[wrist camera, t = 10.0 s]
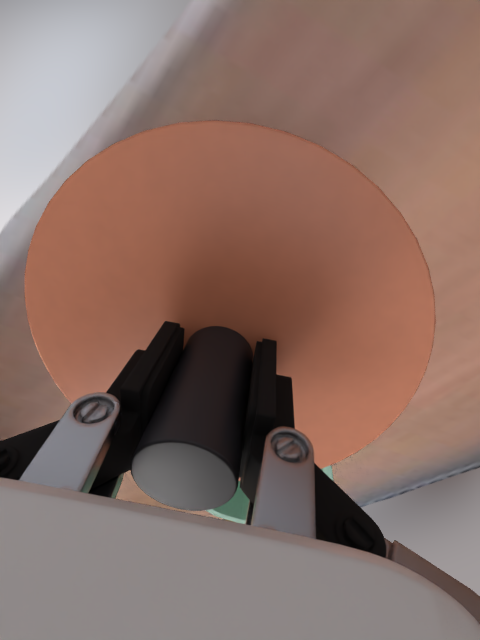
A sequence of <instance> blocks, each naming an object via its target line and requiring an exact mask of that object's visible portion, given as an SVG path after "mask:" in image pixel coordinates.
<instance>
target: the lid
mask: <svg viewBox="0 0 480 640" xmlns="http://www.w3.org/2000/svg"><path fill="white" fill-rule="evenodd" d="M25 303H26V310H27V316H28V322H29V325H30V329H31V332H32V336H33V339H34V342H35V344H36V347H37V349H38V351H39V354H40V356H41V358H42V361H43V363H44V364H45V366H46V368H47V370H48V371H49V373H50V375H51V377H52V378H53V380H54V381H55V383H56V384H57V386H58V387H59V388H60V390H61V391H62V392H63V394H64V395H65V397H66V398H67V399H68V400H69V401H70V402H71V403H73V402H74V401H75V400H77V399H78V398H80V397H82V396H84V395H87V394H90V393H95V392H104V393H106V392H107V390H108V389H109V388H110V386H111V385H112V383H113V382H114V381H115V379H116V378H117V376H118V375H119V374H120V372H121V371H122V369H123V368H124V367H125V365H126V364H127V362H128V361H129V359H130V358H131V357H132V355H133V354H134V352H135V351H136V350H138V349H140V350H146V349H147V347H148V346H149V344H150V343H151V341H152V340H153V338H154V337H155V335H156V334H157V332H158V331H159V329H160V328H161V326H162V325H163V323H164V322H165V321H169V322H175V323H179V324H180V327H182V328H184V345H183V352H182V354H181V356H180V358H179V360H178V362H177V364H176V366H175V368H174V371H173V373H172V375H171V377H170V379H169V381H168V383H167V385H166V387H165V389H164V391H163V394H162V396H161V398H160V400H159V402H158V404H157V406H156V408H155V410H154V412H153V415H152V417H151V419H150V421H149V423H148V425H147V427H146V429H145V431H144V433H143V436H142V438H141V440H140V442H139V444H138V446H137V448H136V450H135V452H134V454H133V456H132V459H131V474H132V476H133V479H134V481H135V482H136V484H137V485H138V486H139V487H140V489H141V490H142V491H144V492H145V493H146V494H147V495H148V496H150V497H151V498H153V499H155V500H156V501H158V502H160V503H162V504H165V505H167V506H171V507H174V508H178V509H183V510H191V511H202V510H210V509H214V508H217V507H220V506H222V505H224V504H225V503H227V502H228V501H229V500H230V499H231V498H232V497H233V496H234V494H235V492H236V491H237V488H238V481H240V479H241V478H240V477H239V473H240V464H241V456H242V448H243V434H244V426H245V418H246V410H247V402H248V394H249V386H250V377H251V369H252V362H253V357H254V352H255V347H256V342H257V341H260V342H262V339H263V338H264V339H270V340H275V341H277V362H276V374H277V375H282V376H288V377H291V378H292V389H293V406H294V423H295V429H297V430H299V431H300V432H302V433H303V434H305V436H306V437H307V438H308V439H309V440H310V442H311V443H312V445H313V449H314V463H315V464H316V465H317V466H318V467H319V468H320V469H322V468H325V467H327V466H330V465H332V464H334V463H337V462H339V461H341V460H343V459H345V458H347V457H349V456H350V455H352V454H354V453H356V452H358V451H359V450H361V449H362V448H363V447H365V446H366V445H368V444H369V443H371V442H372V441H374V440H375V439H376V438H377V437H378V436H379V435H380V434H382V433H383V432H384V431H385V430H386V429H387V428H388V427H389V426H390V425H391V424H392V423H393V422H394V421H395V420H396V419H397V417H398V416H399V415H400V414H401V413H402V412H403V411H404V409H405V408H406V406H407V405H408V403H409V402H410V400H411V399H412V397H413V395H414V394H415V392H416V391H417V389H418V387H419V384H420V382H421V380H422V378H423V376H424V374H425V371H426V369H427V365H428V362H429V358H430V355H431V351H432V348H433V340H434V331H435V323H436V319H435V298H434V291H433V286H432V282H431V277H430V273H429V268H428V265H427V263H426V260H425V258H424V255H423V253H422V251H421V248H420V246H419V243H418V241H417V239H416V237H415V235H414V234H413V232H412V231H411V229H410V227H409V226H408V224H407V222H406V221H405V219H404V217H403V216H402V214H401V213H400V211H399V210H398V209H397V208H396V207H395V206H394V204H393V203H392V202H391V201H390V200H389V199H388V197H387V196H386V195H385V194H384V193H383V192H382V191H381V189H380V188H379V187H378V186H377V185H375V184H374V183H373V182H372V181H371V180H369V179H368V178H367V177H366V176H365V175H364V174H362V173H361V172H360V171H359V170H358V169H356V168H355V167H354V166H353V165H351V164H350V163H348V162H347V161H345V160H343V159H342V158H340V157H338V156H337V155H335V154H333V153H332V152H330V151H328V150H327V149H325V148H323V147H322V146H320V145H317V144H315V143H312V142H310V141H308V140H305V139H303V138H300V137H298V136H296V135H293V134H291V133H288V132H285V131H281V130H277V129H273V128H269V127H264V126H260V125H256V124H252V123H243V122H231V121H219V120H208V121H195V122H181V123H175V124H171V125H166V126H162V127H158V128H154V129H150V130H145V131H143V132H140V133H138V134H135V135H133V136H131V137H128V138H126V139H124V140H121V141H119V142H116V143H114V144H112V145H111V146H109V147H108V148H106V149H105V150H103V151H101V152H100V153H98V154H97V155H95V156H94V157H92V158H91V159H89V160H87V161H86V162H85V163H84V164H83V165H82V166H81V167H80V168H79V169H78V170H77V171H75V172H74V173H73V174H72V175H71V176H70V177H69V178H68V179H67V180H66V181H65V182H64V183H63V185H62V186H61V187H60V188H59V190H58V191H57V192H56V194H55V195H54V196H53V198H52V199H51V200H50V201H49V203H48V205H47V207H46V209H45V211H44V212H43V214H42V216H41V218H40V220H39V222H38V224H37V226H36V228H35V231H34V235H33V238H32V241H31V244H30V247H29V250H28V256H27V263H26V269H25Z"/></svg>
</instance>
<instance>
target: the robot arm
mask: <svg viewBox="0 0 480 640" xmlns="http://www.w3.org/2000/svg"><path fill="white" fill-rule="evenodd" d="M183 345H184V328H182V327H180V324H179V323H175V322H169V321H165V322H164V323H163V325H162V326H161V328H160V329H159V331H158V332H157V334H156V335H155V337H154V338H153V340H152V341H151V343H150V344H149V346H148V347H147V349H146V350H140V349H138V350H136V351H135V352H134V354H133V355H132V357H131V358H130V359H129V361H128V362H127V364H126V365H125V367H124V368H123V369H122V371H121V372H120V374H119V375H118V376H117V378H116V379H115V381H114V382H113V383H112V385H111V386H110V388H109V389H108V390H107V392H106V393H104V392H95V393H90V394H87V395H84V396H82V397H80V398H78V399H77V400H75V401H74V402H73V403H72V404H71V405H70V406H69V408H68V409H67V411H66V412H65V414H64V415H63V417H62V418H61V419H60V420H58V421H56V422H53V423H50V424H47V425H44V426H42V427H39V428H36V429H33V430H31V431H28V432H25V433H22V434H19V435H17V436H14V437H11V438H8V439H6V440H3V441H0V640H480V596H478V595H477V594H476V593H475V592H474V591H472V590H471V589H470V588H468V587H467V586H465V585H464V584H462V583H460V582H459V581H457V580H456V579H454V578H453V577H451V576H450V575H448V574H447V573H445V572H444V571H442V570H440V569H439V568H437V567H436V566H434V565H433V564H431V563H430V562H428V561H427V560H425V559H423V558H422V557H420V556H419V555H417V554H416V553H414V552H413V551H411V550H410V549H408V548H407V547H405V546H403V545H402V544H400V543H398V542H397V541H396V540H394V542H393V543H391V542H390V541H388V540H387V539H385V538H384V536H383V534H382V532H381V530H380V529H379V527H378V526H377V525H376V523H375V522H374V521H373V520H372V519H371V518H370V517H369V516H368V515H367V514H366V513H365V512H364V511H363V510H362V509H361V508H360V507H359V506H358V505H357V504H356V503H355V502H354V501H353V500H352V499H351V498H350V497H349V496H348V495H347V494H346V493H345V492H344V491H343V490H342V489H341V488H340V487H339V486H338V485H337V484H336V483H335V482H333V481H332V480H331V479H330V478H329V477H328V476H327V475H326V474H325V473H324V472H323V471H322V470H321V469H320V468H319V467H318V466H317V465H316V464H315V463H314V449H313V445H312V443H311V442H310V440H309V439H308V438H307V437H306V436H305V434H303V433H302V432H300V431H299V430H297V429H295V423H294V406H293V389H292V378H291V377H288V376H282V375H277V374H276V362H277V341H275V340H270V339H264V338H263V339H262V342H260V341H257V342H256V347H255V352H254V357H253V362H252V369H251V377H250V386H249V394H248V402H247V410H246V418H245V426H244V434H243V448H242V456H241V464H240V473H239V477H240V478H241V479H240V488H241V490H242V491H243V492H244V494H245V495H246V496H247V498H248V499H249V504H248V510H247V516H246V522H245V524H241V523H236V522H231V521H226V520H221V519H216V518H211V517H206V516H201V515H196V514H191V513H185V512H180V511H175V510H170V509H165V508H160V507H155V506H150V505H145V504H140V503H134V502H129V501H124V500H119V499H115V498H116V495H117V493H118V490H119V488H120V485H121V482H122V480H123V476H124V473H125V472H127V471H129V470H131V459H132V456H133V454H134V452H135V450H136V448H137V446H138V444H139V442H140V440H141V438H142V436H143V433H144V431H145V429H146V427H147V425H148V423H149V421H150V419H151V417H152V415H153V412H154V410H155V408H156V406H157V404H158V402H159V400H160V398H161V396H162V394H163V391H164V389H165V387H166V385H167V383H168V381H169V379H170V377H171V375H172V373H173V371H174V368H175V366H176V364H177V362H178V360H179V358H180V356H181V354H182V352H183Z"/></svg>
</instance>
